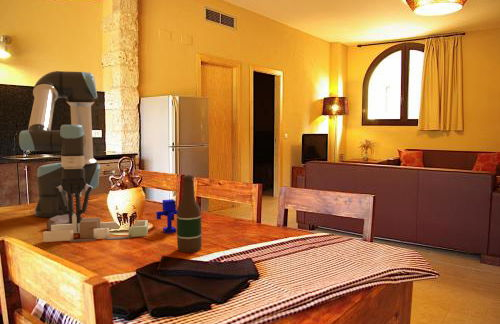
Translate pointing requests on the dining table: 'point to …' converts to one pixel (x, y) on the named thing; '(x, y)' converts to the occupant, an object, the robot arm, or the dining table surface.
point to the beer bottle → (188, 219)
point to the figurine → (168, 214)
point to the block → (89, 227)
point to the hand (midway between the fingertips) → (75, 232)
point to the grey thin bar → (94, 239)
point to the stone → (58, 221)
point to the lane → (66, 231)
